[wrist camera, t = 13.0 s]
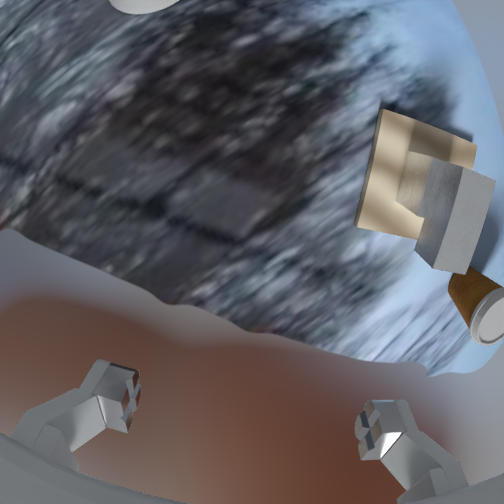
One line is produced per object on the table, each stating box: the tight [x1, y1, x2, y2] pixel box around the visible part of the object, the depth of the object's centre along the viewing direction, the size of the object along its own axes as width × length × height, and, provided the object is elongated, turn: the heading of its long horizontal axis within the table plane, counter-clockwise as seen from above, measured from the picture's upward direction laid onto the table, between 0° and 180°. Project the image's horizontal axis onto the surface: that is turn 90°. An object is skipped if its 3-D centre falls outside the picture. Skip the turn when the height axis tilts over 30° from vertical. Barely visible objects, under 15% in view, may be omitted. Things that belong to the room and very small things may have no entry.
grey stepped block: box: [395, 151, 496, 275], centre depth 32 cm, size 11×7×12 cm, turn 171°
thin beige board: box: [354, 109, 477, 240], centre depth 36 cm, size 16×16×6 cm
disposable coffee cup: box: [448, 267, 504, 346], centre depth 39 cm, size 10×10×12 cm
